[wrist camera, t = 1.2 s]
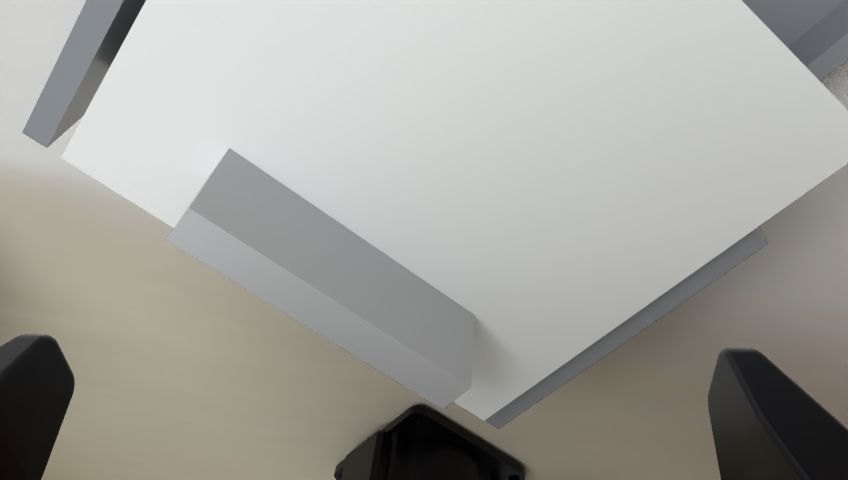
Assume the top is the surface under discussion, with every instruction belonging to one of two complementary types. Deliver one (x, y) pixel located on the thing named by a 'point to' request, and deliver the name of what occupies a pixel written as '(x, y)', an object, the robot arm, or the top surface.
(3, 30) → the top surface
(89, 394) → the top surface
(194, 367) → the top surface
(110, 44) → the housing
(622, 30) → the lid
